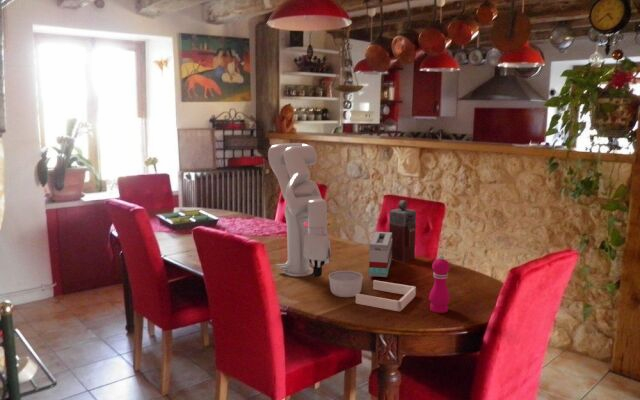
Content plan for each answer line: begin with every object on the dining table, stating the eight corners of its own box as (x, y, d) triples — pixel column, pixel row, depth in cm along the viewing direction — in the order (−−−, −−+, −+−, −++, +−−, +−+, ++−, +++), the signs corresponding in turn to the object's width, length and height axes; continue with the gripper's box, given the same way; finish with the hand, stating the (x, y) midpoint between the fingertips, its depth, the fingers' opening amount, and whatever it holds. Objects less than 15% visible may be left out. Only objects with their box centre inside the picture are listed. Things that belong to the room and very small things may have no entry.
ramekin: (328, 286, 209) (328, 270, 208) (361, 287, 209) (362, 270, 207) (328, 298, 196) (328, 280, 195) (363, 299, 196) (363, 281, 194)
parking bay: (355, 303, 191) (355, 294, 190) (374, 288, 207) (374, 280, 206) (400, 311, 183) (400, 302, 183) (415, 295, 199) (416, 286, 198)
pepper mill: (426, 306, 188) (428, 252, 185) (445, 305, 189) (448, 252, 185) (432, 313, 181) (434, 258, 178) (452, 313, 182) (455, 257, 178)
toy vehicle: (392, 259, 246) (393, 228, 244) (387, 280, 217) (388, 245, 214) (375, 258, 248) (375, 227, 245) (368, 278, 219) (368, 244, 216)
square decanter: (407, 263, 240) (409, 203, 235) (388, 258, 248) (389, 200, 243) (418, 259, 246) (420, 201, 241) (399, 254, 254) (401, 198, 249)
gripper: (295, 230, 204) (296, 276, 207) (330, 234, 197) (330, 281, 200) (305, 227, 210) (305, 271, 213) (338, 230, 204) (338, 276, 206)
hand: (317, 276), depth 207 cm, fingers closed
